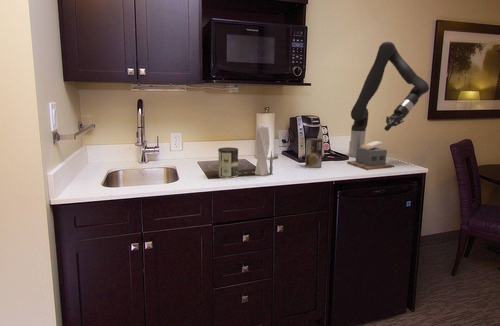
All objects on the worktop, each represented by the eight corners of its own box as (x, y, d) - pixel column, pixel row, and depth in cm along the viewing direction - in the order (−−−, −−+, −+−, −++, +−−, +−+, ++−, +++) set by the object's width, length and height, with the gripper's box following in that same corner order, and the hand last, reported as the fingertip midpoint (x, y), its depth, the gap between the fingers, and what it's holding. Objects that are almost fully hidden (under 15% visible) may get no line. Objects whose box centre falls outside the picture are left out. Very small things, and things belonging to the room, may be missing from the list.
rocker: (361, 148, 217) (360, 145, 217) (376, 143, 221) (375, 140, 220) (367, 149, 212) (367, 146, 211) (383, 144, 215) (382, 142, 215)
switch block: (355, 162, 222) (356, 145, 219) (371, 160, 226) (373, 145, 224) (369, 166, 210) (370, 149, 208) (385, 164, 215) (387, 148, 213)
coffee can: (235, 172, 196) (235, 146, 193) (240, 177, 186) (240, 150, 183) (216, 173, 193) (216, 147, 190) (220, 178, 184) (220, 151, 181)
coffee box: (320, 165, 217) (321, 138, 213) (321, 167, 211) (323, 140, 207) (304, 164, 218) (306, 138, 214) (305, 167, 211) (306, 139, 208)
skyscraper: (262, 177, 188) (264, 123, 182) (251, 174, 193) (252, 121, 188) (273, 174, 194) (274, 121, 188) (261, 172, 199) (262, 120, 194)
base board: (347, 163, 223) (347, 161, 223) (373, 161, 230) (373, 159, 230) (366, 169, 207) (366, 167, 206) (394, 167, 214) (394, 165, 214)
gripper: (392, 103, 224) (375, 124, 222) (409, 105, 212) (390, 126, 210) (398, 112, 227) (381, 132, 225) (415, 114, 215) (397, 135, 213)
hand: (385, 129), depth 218 cm, fingers closed
